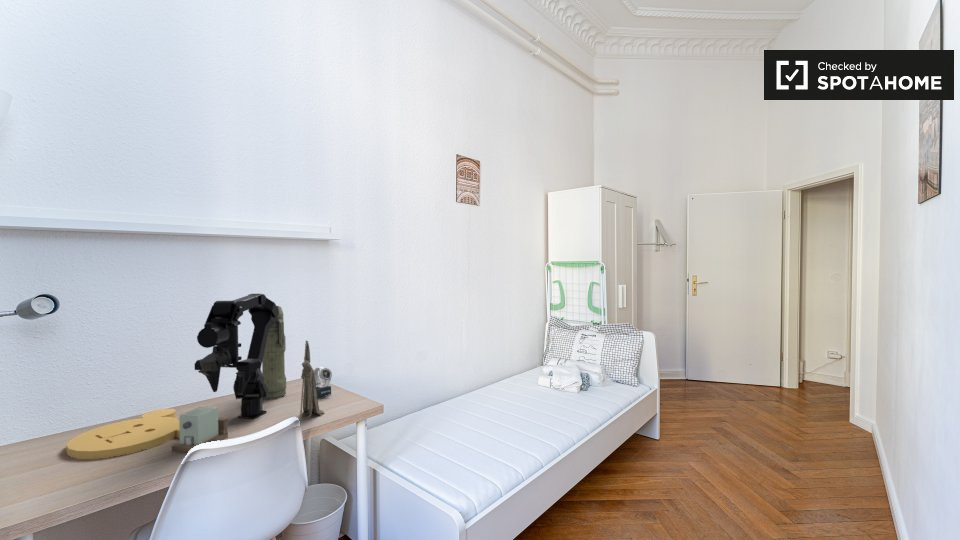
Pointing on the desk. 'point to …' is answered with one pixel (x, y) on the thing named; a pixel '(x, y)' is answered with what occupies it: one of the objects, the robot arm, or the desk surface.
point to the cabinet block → (199, 424)
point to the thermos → (275, 359)
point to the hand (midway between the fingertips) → (228, 392)
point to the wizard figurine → (309, 386)
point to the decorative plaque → (126, 436)
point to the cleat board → (190, 441)
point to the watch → (326, 378)
